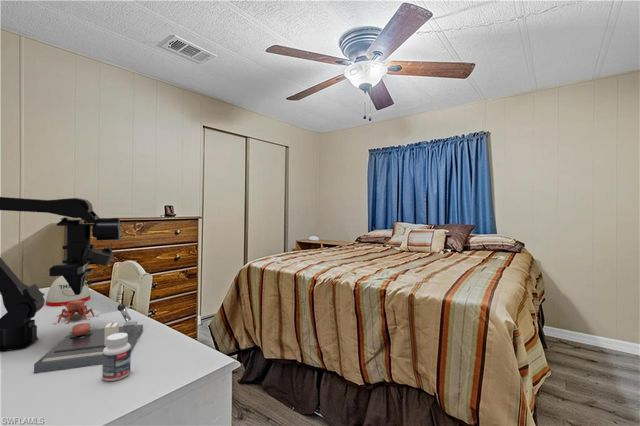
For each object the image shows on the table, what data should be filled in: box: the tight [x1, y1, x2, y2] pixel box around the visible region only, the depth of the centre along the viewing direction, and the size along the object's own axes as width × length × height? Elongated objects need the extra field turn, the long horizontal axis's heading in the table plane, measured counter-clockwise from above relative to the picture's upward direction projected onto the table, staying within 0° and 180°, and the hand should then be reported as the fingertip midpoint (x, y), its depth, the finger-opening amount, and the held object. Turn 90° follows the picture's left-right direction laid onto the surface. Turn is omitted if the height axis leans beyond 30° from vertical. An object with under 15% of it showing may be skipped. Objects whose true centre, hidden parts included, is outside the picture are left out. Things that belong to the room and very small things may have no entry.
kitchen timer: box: [45, 276, 91, 307], centre depth 124 cm, size 14×14×15 cm
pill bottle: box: [101, 333, 132, 382], centre depth 69 cm, size 5×5×9 cm
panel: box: [33, 320, 144, 374], centre depth 82 cm, size 18×20×4 cm
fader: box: [104, 322, 120, 346], centre depth 80 cm, size 2×3×5 cm
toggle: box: [116, 303, 132, 323], centre depth 89 cm, size 2×2×5 cm
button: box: [71, 322, 91, 336], centre depth 86 cm, size 4×4×2 cm
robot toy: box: [52, 280, 99, 325], centre depth 106 cm, size 15×12×13 cm
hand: (78, 294), depth 89 cm, fingers closed
